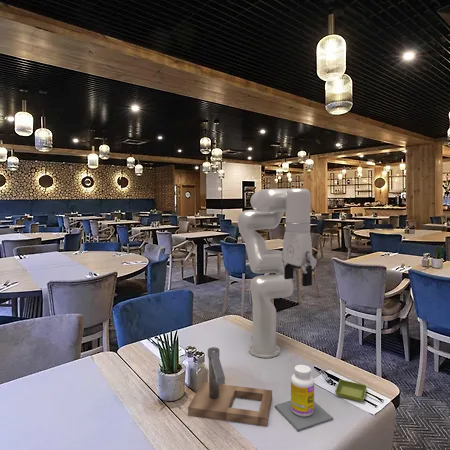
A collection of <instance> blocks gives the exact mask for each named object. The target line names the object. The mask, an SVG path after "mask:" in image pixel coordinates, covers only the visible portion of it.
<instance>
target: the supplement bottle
mask: <svg viewBox="0 0 450 450" xmlns="http://www.w3.org/2000/svg"><path fill="white" fill-rule="evenodd" d="M293 371H294V374H293V375H291V377H290V401H291V410H292V412H293V413H294V414H296V415H298V416H303V417H306V416H310V415H312V413H313V412H314V402H315V380H314V378H313V376H312V375H311V373H312V368H311V367H310V366H308V365H306V364H297V365H295V367H294V370H293Z"/></svg>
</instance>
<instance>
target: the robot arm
mask: <svg viewBox="0 0 450 450" xmlns="http://www.w3.org/2000/svg"><path fill="white" fill-rule="evenodd" d="M249 202H250V205H251V207H252V208H253V209H248V210H243V211H241V212H240V213H239V215H238V217H237V226H238V227H237V228H238V230H239V233H240V236H241V238H242V240H243V242H244V244H245V248H246V254H247V259H248V265H249V267H250V270H251V272H252V273H253V274H260V275H256V276H254V277H253V278H251V280H250V283H249V289H250V290H249V291H250V293H251V294H250V295H251V301H252V336H251V338H250V339H251V340H252V344H251V345H250V346H249V347H248V350H249V351H248V352H249V353H250V354H251V356H252V355H253V357H256V358H263V359H269V358H270V359H271V358H274V357H277V356H278V355H279V354H280V353H281V348H280V346H278V345H277V309H276V307H275V305H274V303H272V302H271V300H272V299H280V298H281V299H282V298H288V297H291V296H292V294H294V282H293V279H294V266H295V267H301V269H302V271H303V272H302V274H301V275H302V276H301V280H302V281H301V286H302V287H310V286H313V285H312V284H313V273H314V270H315V269H316V265H317V261H318V260H317V259H316V258H315V257H314V256H313V246H312V245H313V244H312V243H313V242H312V237H311V236H312V235H311V191H310V190H309V189H308V188H265V189H259V191H256V192H254V193H253V194H252V195H251V197H250V201H249ZM284 214H285V232H284V234H283V235H284V236H283V244H282V250H279V249H274V250H273V249H272V250H271V249H270V250H269V249H268V248H267V246H266V240H265V239H264V237H263V236H262V235H261V234H260V233H259V232H257V230H274V229H276V228H277V227H278V226H279V224H280V223H281V220H282V217H283V216H284ZM262 274H263V275H262Z"/></svg>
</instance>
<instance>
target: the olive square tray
mask: <svg viewBox="0 0 450 450" xmlns="http://www.w3.org/2000/svg"><path fill="white" fill-rule="evenodd" d="M367 388H368V386H367V385H366V384H363V383H358V382H354V381H349V380H345V379H339V380H338V383H337V386H336V387H335V391H334V393H335V394H336V395H337V396H339V397H340V398H344V399H349V400H352V401H356V402H359V403H360V402H362V401H363V402H364V400H365V398H366V394H367V393H366V392H367Z"/></svg>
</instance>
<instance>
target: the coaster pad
mask: <svg viewBox="0 0 450 450" xmlns="http://www.w3.org/2000/svg"><path fill="white" fill-rule="evenodd" d="M274 408H275V410H277V411H278V413H279V414H280V415H281V416H282V417H284V419H285V420H287V422H288V423H289V424H290V425H291V426H292V427H293V428H294V429H295V430H296V431H297V432H301V431H304V430H307V429H309V428H310V429H311V428H312V427H313V428H314V427H316V426H319V425H322V424H325V423H328V422H331V421H334V417H333V416H332V415H330V413H329V412H327V411H326V410H325V409H324V408H322V407H321V405H319V404H318V403H316V402H315V401H314V412H313V413H312V415H310V416H306V417H303V416H298V415H296V414H294V413H293V412H292V410H291V400H288V401H285V402H281V403H278V404H274Z"/></svg>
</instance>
